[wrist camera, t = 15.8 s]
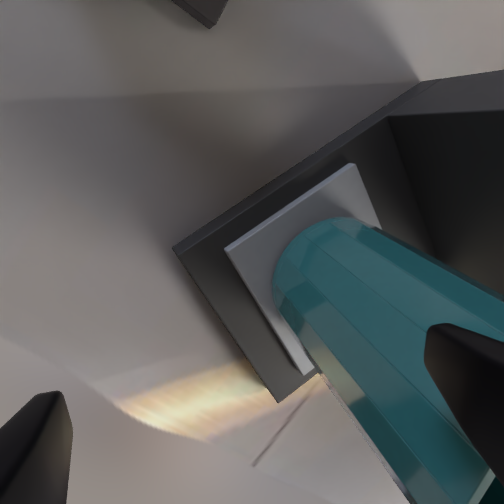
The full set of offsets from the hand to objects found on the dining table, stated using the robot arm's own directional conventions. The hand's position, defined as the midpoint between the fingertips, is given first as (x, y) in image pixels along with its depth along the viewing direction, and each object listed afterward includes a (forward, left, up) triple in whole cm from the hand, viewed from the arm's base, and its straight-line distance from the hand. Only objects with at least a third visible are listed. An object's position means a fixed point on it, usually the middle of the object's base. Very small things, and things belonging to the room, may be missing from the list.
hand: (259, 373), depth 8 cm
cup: (+7, -6, -11) cm, 14 cm away
